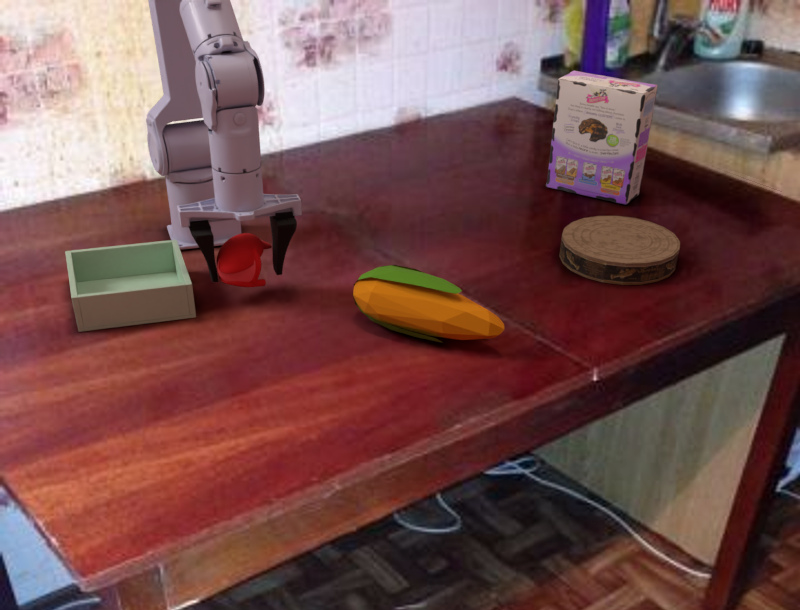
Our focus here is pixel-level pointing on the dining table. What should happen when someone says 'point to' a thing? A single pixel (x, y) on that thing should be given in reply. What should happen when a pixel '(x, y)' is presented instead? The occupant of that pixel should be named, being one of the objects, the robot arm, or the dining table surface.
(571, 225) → the tin can
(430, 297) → the corn
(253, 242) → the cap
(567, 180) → the candy box
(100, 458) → the dining table surface
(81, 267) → the bin
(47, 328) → the dining table surface
